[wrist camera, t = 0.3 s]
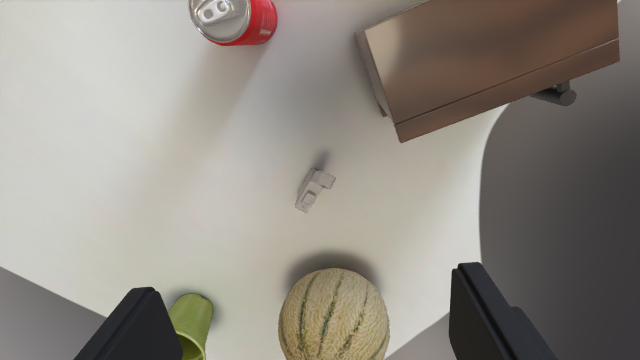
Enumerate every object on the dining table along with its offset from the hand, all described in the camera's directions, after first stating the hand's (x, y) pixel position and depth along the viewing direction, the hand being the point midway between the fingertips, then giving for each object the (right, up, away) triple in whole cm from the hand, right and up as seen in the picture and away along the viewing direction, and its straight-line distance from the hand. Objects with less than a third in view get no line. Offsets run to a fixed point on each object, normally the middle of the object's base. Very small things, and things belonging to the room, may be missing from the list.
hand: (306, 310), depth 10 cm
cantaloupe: (+3, -12, +39) cm, 41 cm away
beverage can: (-7, +22, +24) cm, 33 cm away
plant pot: (-20, -17, +42) cm, 49 cm away
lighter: (0, +5, +32) cm, 32 cm away
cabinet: (+14, +20, +24) cm, 34 cm away
